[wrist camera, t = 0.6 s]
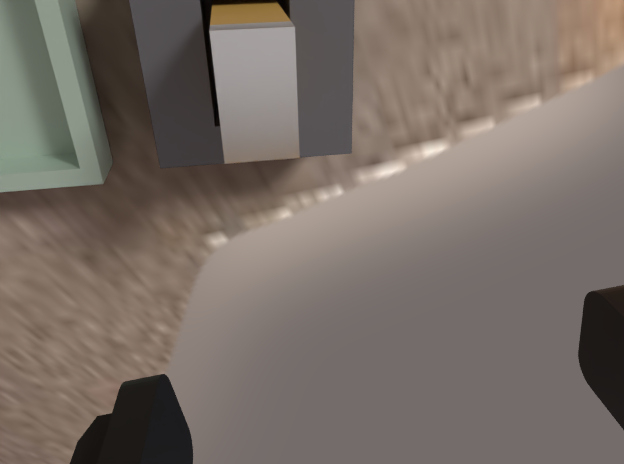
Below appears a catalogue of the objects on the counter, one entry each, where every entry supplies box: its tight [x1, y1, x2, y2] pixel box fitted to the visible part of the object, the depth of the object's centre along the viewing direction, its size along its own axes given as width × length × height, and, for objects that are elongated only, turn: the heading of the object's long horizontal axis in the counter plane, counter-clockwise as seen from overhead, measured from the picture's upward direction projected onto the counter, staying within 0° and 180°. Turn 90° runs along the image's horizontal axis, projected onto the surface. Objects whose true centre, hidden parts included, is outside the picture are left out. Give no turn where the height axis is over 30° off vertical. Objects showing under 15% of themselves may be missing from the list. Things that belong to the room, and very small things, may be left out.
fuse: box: [209, 0, 300, 164], centre depth 24 cm, size 3×5×10 cm, turn 2°
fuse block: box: [129, 0, 354, 168], centre depth 27 cm, size 10×10×5 cm
